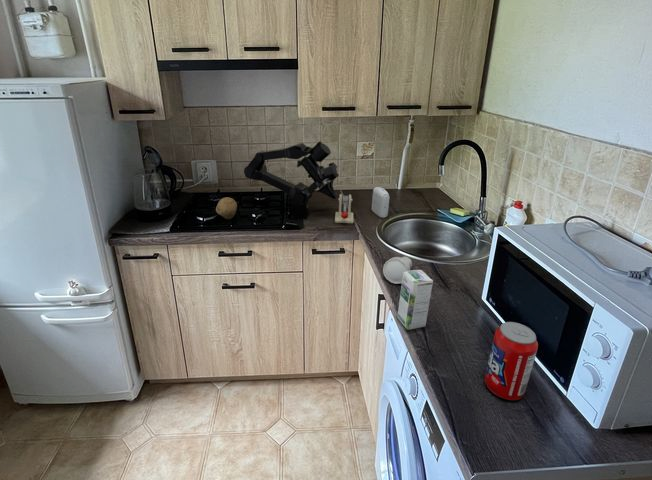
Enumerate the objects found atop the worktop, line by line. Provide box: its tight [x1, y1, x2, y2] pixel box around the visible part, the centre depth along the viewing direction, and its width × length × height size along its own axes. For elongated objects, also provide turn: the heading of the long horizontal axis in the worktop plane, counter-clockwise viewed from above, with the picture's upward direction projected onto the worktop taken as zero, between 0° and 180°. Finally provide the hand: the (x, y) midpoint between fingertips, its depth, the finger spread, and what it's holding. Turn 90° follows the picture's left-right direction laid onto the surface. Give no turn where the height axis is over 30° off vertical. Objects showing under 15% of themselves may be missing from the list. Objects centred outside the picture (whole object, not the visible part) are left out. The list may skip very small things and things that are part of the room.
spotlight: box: [382, 256, 413, 285], centre depth 123 cm, size 8×11×8 cm
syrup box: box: [396, 269, 434, 331], centre depth 100 cm, size 6×6×14 cm
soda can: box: [484, 321, 539, 401], centre depth 80 cm, size 8×8×15 cm
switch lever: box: [341, 195, 349, 219], centre depth 163 cm, size 12×3×3 cm, turn 174°
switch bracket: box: [334, 193, 354, 224], centre depth 167 cm, size 10×8×11 cm
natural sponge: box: [215, 196, 238, 220], centre depth 165 cm, size 9×9×10 cm
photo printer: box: [371, 186, 390, 219], centre depth 173 cm, size 10×4×12 cm, turn 17°
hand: (335, 198), depth 159 cm, fingers closed
